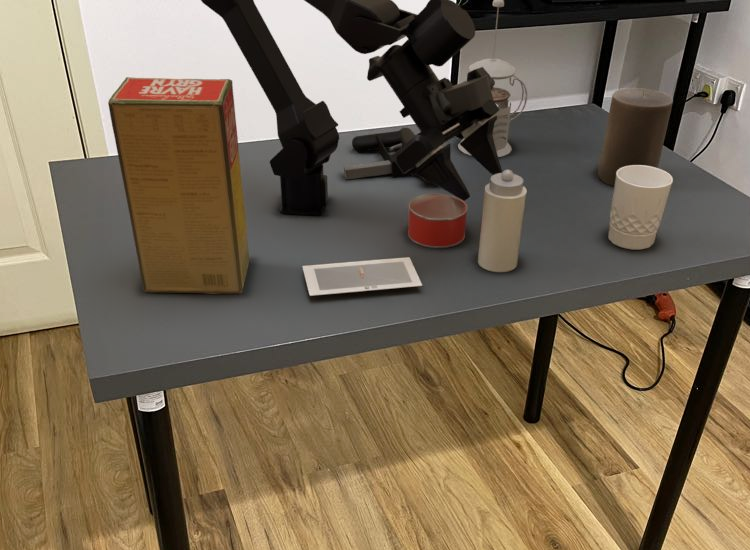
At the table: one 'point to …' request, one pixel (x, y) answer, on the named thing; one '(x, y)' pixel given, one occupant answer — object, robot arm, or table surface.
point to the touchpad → (360, 276)
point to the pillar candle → (634, 130)
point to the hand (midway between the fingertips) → (483, 187)
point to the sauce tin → (437, 220)
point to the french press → (499, 96)
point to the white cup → (638, 205)
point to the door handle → (380, 143)
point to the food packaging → (182, 183)
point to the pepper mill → (502, 222)
